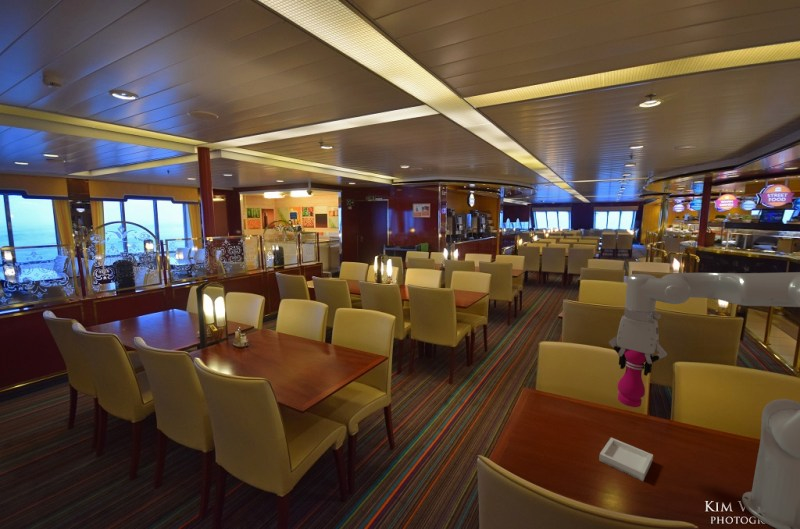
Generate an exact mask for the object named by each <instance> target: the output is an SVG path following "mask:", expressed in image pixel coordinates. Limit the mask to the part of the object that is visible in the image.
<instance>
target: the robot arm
mask: <svg viewBox="0 0 800 529" xmlns="http://www.w3.org/2000/svg"><path fill="white" fill-rule="evenodd" d="M690 298H696V299H697V298H700V299H701V298H702V299H713V300H719V301H724V302H726V303H730V304H733V305H738V306H746V307H748V306H749V307H751V306H752V307H786V308H787V307H788V308H790V307H791V308H800V271H799V272H798V271H796V272H794V271H793V272H792V271H791V272H759V273H758V272H750V273H748V272H747V273H746V272H745V273H744V272H743V273H741V272H740V273H738V272H675V273H674V272H673V273H668V274H665V275H663V276H662V277H660V278H658V277H656V276H655V275H651V274H645V273H632V274H630V275H628V276H627V279H626V292H625V301H624V302H625V303H624V314H623V315H622V316H621V317H620V318H621V319H620V321H619V325H618V330H617V335H616V336H614V337H613V338H611V339H610V340H609V341H608V344H609V345H610V346H611V347H612V348H613V350H614V351H615V353H616V354H617V356H619V358H618V365H619V366H620V368H619V369H620V370H624V369H626V365H625V360H626V357H625V355H624V354H625V350H626V349H628V350H634V351H638V352H641V353H644V354H645V357H646V362H645V363H644V364H645V366H644V369H643V375H644V376H647V377H648V375H649V374H651V373H652V370H653V363H654V362H656V361H659V360H661V359H663V358H665V357H667V356H668V353H667V351H665V349H664V348H663V347H662V345H661V344H660V343H659V339H660V338H659V323H658V322H659V321H658V320H659V319H661V316H662V315H661V314H659V313H657V312H656V303H657V302H661V303H665V304H670V305H681V304H683V303H687V301H688V300H690ZM656 319H658V320H656ZM656 351H657V352H658V353H657V354H655V353H656ZM654 354H655V355H654ZM760 427H761V429H760V431H761V433H760V442H759V448H758V453H757V459H756V465H755V470H754V475H753V476H754V477H753V481H752V482H753V483H752V489H751V491H746V492H745V493H743V495H742V497H741V498H742V499H741V501H742V504H743V506H744V507H745V508H746V510H747V511H748V512H749V513H751V514H752V515H753V516H754V517H756V518H757V519H759V520H760V521H761V522H763V523H765V524H766V525H769V526H770V527H772V528H775V529H800V402H798V401H796V400H792V399H789V398H779V399H774V400H771V401H770V402H768V403H767V404H766V405H765V406H764V408H763V410H762V413H761V426H760Z"/></svg>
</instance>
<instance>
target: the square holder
mask: <svg viewBox="0 0 800 529" xmlns="http://www.w3.org/2000/svg"><path fill="white" fill-rule="evenodd" d="M598 458H599V460H598V461H599V462H601V463H603V464H606V465H607V466H610V467H612V468H614V469H616V470H618V471H620V472H622V473H624V472H625V473H624V474H626V473H627V474H626V475H629V476H630V477H633V478H635V479H637V480H639V481H640V482H641V481H642V482H644V480H645V478H646V476H647V474H648V472H649V470H650V468H651V465H652V463H653V459H654V454H653V453H651V452H650V453H649V452H647V451H645V450H643V449H640V448H638V447H636V446H633V445H631V444H628V443H626V442H623V441H620V440H618V439H616V438H613V437H610V438H609V440H608V441H607V443H606V444H605V446H604V447H603V448H602V449H601V451H600V453H599V457H598Z"/></svg>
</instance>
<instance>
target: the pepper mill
mask: <svg viewBox="0 0 800 529" xmlns="http://www.w3.org/2000/svg"><path fill="white" fill-rule="evenodd" d="M624 355H625V357H626V360H625V365H626V367H625V372H624V374H623V375H622V376H621V378H620V379H619V381H618V383H617V390H618V393H617V400H618V401H619V403H621V404H622V405H625V406H627V407H630V408H640V407H641V406H642V402H643V401H642V398H643V397H644V396H645V393H646V388H645V384H644V382H643V377H642V376H643V375H642V372H643V371H644V366H645V362H646V357H645V354H644V353H641V352H638V351H634V350H628V349H626V350H625V354H624Z"/></svg>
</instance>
